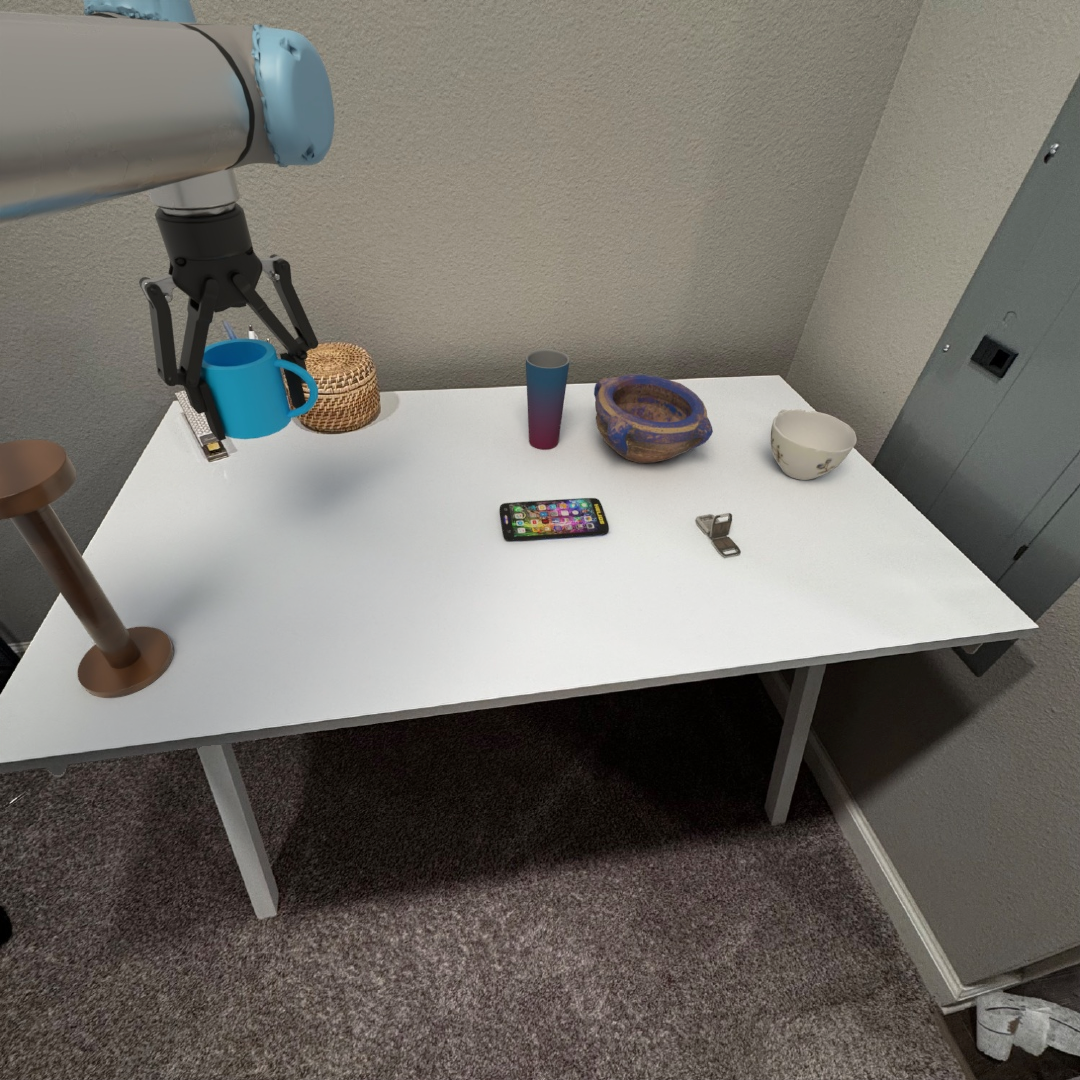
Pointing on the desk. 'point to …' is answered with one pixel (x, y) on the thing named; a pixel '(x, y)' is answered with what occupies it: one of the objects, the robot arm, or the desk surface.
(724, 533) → the strap clip
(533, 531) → the smartphone
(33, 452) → the stand
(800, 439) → the teacup
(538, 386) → the cup
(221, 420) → the mug
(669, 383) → the bowl
